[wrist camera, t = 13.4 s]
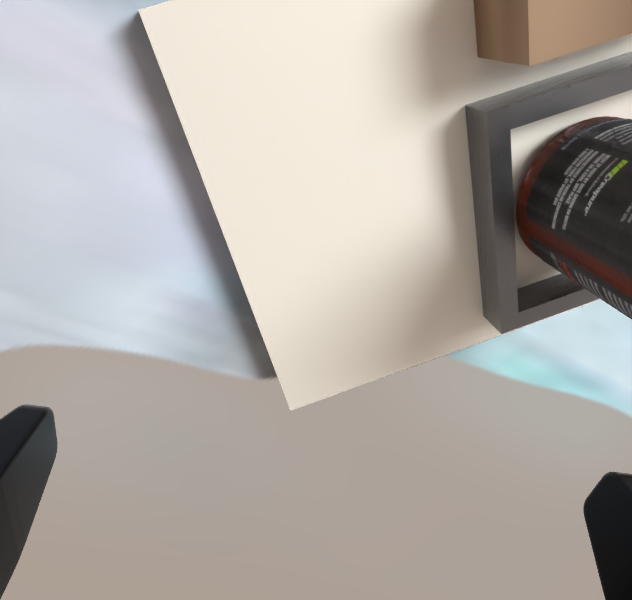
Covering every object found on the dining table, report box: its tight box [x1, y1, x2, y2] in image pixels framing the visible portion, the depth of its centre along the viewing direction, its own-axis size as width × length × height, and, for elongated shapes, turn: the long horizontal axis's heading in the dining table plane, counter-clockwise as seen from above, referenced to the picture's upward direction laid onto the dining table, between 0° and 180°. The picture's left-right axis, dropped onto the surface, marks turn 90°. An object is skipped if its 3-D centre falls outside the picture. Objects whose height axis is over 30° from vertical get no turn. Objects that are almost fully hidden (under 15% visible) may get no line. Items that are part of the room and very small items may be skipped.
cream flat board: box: [138, 0, 632, 410], centre depth 20 cm, size 19×16×1 cm
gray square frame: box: [465, 51, 632, 334], centre depth 20 cm, size 9×9×2 cm
